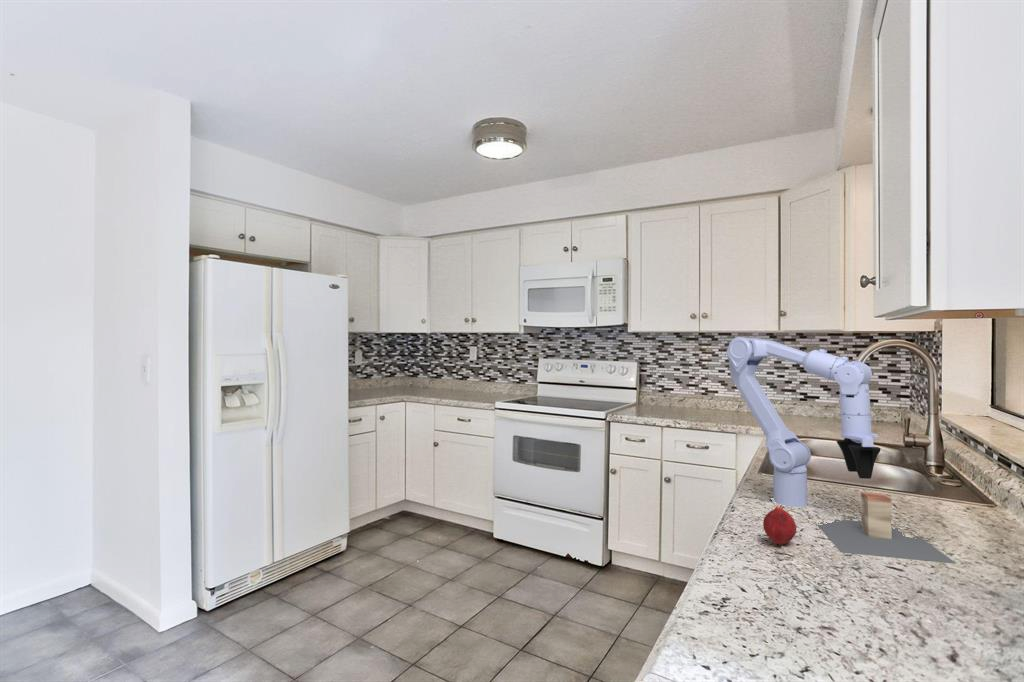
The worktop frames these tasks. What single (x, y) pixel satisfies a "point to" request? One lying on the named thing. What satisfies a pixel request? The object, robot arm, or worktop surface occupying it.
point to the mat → (880, 543)
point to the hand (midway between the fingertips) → (859, 474)
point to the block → (876, 515)
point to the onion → (779, 525)
